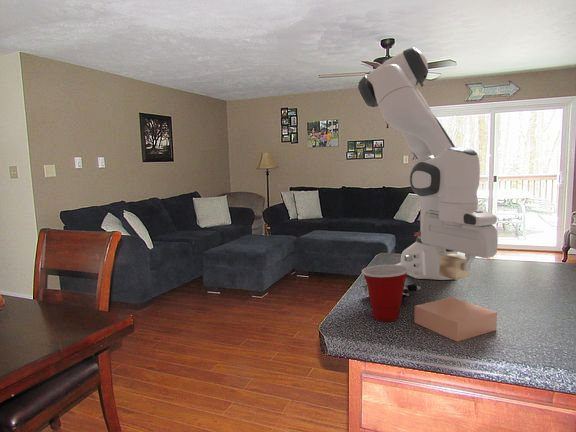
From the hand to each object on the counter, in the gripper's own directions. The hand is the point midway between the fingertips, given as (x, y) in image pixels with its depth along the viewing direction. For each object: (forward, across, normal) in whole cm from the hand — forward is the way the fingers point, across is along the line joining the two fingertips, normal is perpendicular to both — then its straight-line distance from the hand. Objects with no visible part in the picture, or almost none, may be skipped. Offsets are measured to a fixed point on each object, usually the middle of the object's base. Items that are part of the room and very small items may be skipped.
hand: (454, 267), depth 105 cm
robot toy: (+11, -13, -8) cm, 19 cm away
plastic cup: (+10, -3, -20) cm, 23 cm away
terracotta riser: (+10, +10, -11) cm, 18 cm away
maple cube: (+2, 0, 0) cm, 2 cm away
